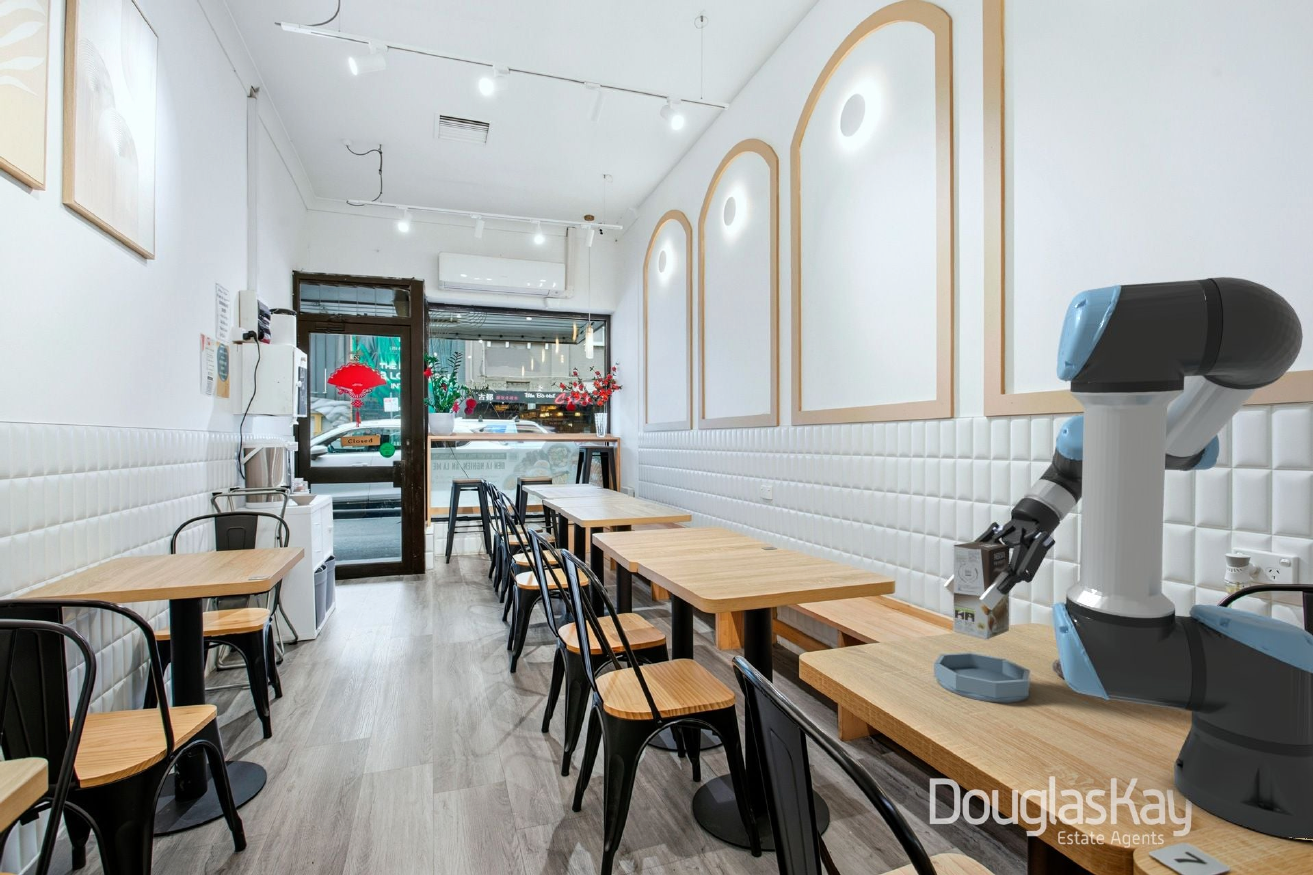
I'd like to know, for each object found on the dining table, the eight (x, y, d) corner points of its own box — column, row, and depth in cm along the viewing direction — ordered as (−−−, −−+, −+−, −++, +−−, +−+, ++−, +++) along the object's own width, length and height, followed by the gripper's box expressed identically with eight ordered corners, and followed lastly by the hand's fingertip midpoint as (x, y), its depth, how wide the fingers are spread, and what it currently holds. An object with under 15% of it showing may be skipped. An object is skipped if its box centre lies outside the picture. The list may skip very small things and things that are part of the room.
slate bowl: (1049, 699, 109) (1049, 679, 109) (972, 705, 106) (972, 684, 106) (988, 669, 123) (988, 651, 123) (920, 673, 121) (920, 655, 121)
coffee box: (988, 640, 110) (988, 549, 110) (952, 632, 115) (952, 544, 115) (1010, 631, 116) (1010, 544, 116) (974, 623, 121) (975, 540, 121)
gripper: (1105, 531, 107) (1024, 628, 104) (1010, 516, 129) (941, 596, 126) (1078, 501, 107) (996, 598, 104) (988, 491, 128) (917, 571, 125)
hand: (966, 597), depth 115 cm, fingers closed on coffee box, 9 cm apart
